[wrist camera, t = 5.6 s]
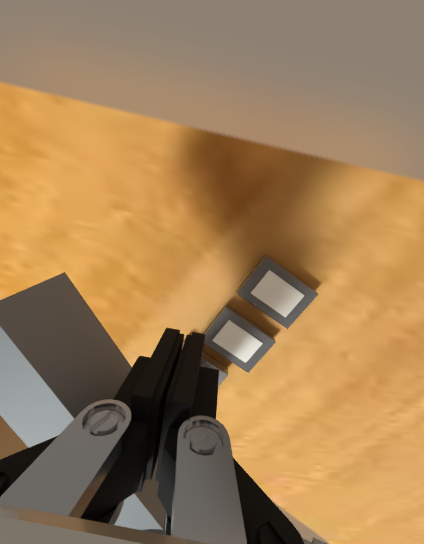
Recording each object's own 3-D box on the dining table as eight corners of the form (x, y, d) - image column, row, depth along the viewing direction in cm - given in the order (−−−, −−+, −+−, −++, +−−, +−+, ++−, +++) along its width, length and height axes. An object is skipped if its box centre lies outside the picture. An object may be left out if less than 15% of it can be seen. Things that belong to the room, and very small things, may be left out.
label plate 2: (315, 291, 18) (318, 294, 18) (285, 325, 19) (287, 329, 18) (265, 255, 18) (266, 256, 17) (236, 291, 18) (237, 294, 18)
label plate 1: (274, 338, 19) (275, 342, 19) (247, 368, 20) (248, 373, 19) (225, 305, 19) (226, 308, 18) (200, 337, 19) (199, 341, 19)
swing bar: (78, 264, 10) (3, 295, 7) (225, 477, 13) (224, 580, 9) (14, 301, 11) (-84, 348, 7) (166, 499, 13) (145, 603, 10)
